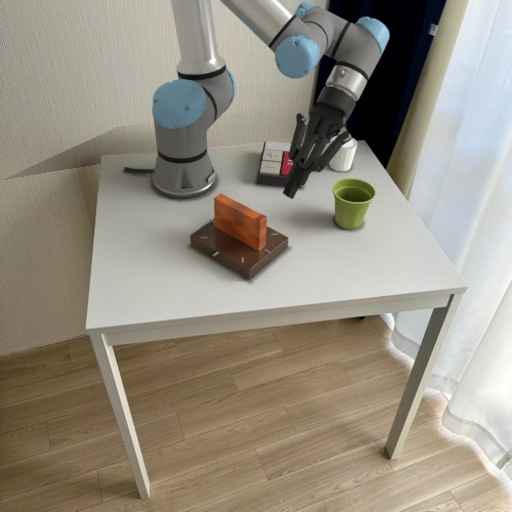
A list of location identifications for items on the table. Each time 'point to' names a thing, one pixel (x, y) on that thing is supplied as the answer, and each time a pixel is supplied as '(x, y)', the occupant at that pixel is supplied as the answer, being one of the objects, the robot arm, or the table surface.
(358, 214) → the plant pot
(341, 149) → the white fluted cup
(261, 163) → the calculator
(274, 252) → the dial panel
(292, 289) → the table surface
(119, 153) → the table surface
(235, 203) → the pointer
